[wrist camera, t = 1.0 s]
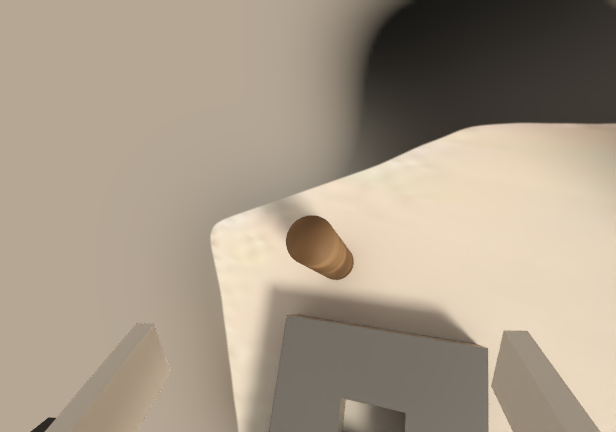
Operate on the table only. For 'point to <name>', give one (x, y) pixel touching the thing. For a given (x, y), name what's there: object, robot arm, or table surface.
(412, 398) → the socket
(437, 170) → the table surface
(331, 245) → the peg
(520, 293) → the table surface
